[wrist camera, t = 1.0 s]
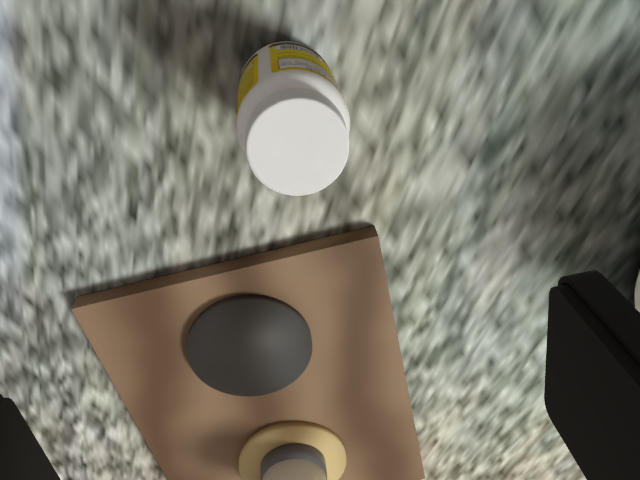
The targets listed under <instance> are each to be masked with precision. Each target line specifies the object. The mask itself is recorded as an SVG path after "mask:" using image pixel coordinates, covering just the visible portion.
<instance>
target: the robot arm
mask: <svg viewBox="0 0 640 480" xmlns="http://www.w3.org/2000/svg"><path fill="white" fill-rule="evenodd" d="M544 399H545V406H546V409H547V412H548V415H549V417H550V419H551V421H552V423H553V424H554V426H555V428H556V429H557V431H558V432H559V434H560V436H561V437H562V439H563V441H564V442H565V444H566V446H567V447H568V449H569V451H570V452H571V454H572V456H573V457H574V459H575V461H576V462H577V464H578V466H579V467H580V469H581V471H582V472H583V474H584V475H585V477H586V479H587V480H640V312H639V311H638V310H637V309H636V308H635V307H634V306H633V305H632V304H631V303H630V302H629V301H628V300H627V299H626V298H625V297H624V296H623V295H622V294H621V293H620V292H619V291H618V290H617V289H616V288H615V287H614V286H613V285H612V284H611V283H610V282H609V281H608V280H607V279H606V278H605V277H604V276H603V275H602V274H601V273H599V272H598V271H594V270H593V271H588V272H583V273H578V274H573V275H568V276H563V277H561V278H560V280H559V282H558V286H556V287H553V288H551V290H550V293H549V311H548V332H547V353H546V373H545V394H544ZM0 480H60V478H59V476H58V475H57V473H56V471H55V470H54V468H53V466H52V465H51V463H50V461H49V460H48V458H47V456H46V455H45V453H44V451H43V450H42V448H41V446H40V445H39V443H38V441H37V440H36V438H35V436H34V435H33V433H32V431H31V430H30V428H29V426H28V425H27V423H26V421H25V420H24V418H23V416H22V415H21V413H20V411H19V410H18V408H17V406H16V405H15V403H14V402H13V401H12V400H11V399H10V398H3V397H2V395H1V394H0Z"/></svg>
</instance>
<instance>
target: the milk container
mask: <svg viewBox="0 0 640 480" xmlns="http://www.w3.org/2000/svg"><path fill="white" fill-rule="evenodd" d="M634 299H635V308H636V309H637V310H638V311H639V312H640V267H639V270H638V274H637V277H636V281H635V286H634Z"/></svg>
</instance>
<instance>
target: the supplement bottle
mask: <svg viewBox="0 0 640 480" xmlns="http://www.w3.org/2000/svg"><path fill="white" fill-rule="evenodd" d="M236 131H237V137H238V141H239V144H240V147H241V149H242V151H243V153H244V154H245V156H246V158H247V160H248V163H249V165H250V168H251V170H252V171H253V173H254V174H255V176H256V177H257V178H258V179H259V180H260V181H261V182H262V183H263V184H264V185H265V186H267V187H268V188H270V189H272V190H274V191H276V192H279V193H282V194H285V195H292V196H301V195H308V194H312V193H315V192H318V191H320V190H322V189H324V188H325V187H327V186H328V185H330V184H331V183H332V182H333V181H334V180H335V179H336V178H337V177H338V176H339V175H340V173H341V172H342V170H343V168H344V166H345V164H346V161H347V158H348V154H349V132H350V117H349V111H348V107H347V104H346V102H345V100H344V98H343V96H342V93H341V91H340V90H339V87H338V85H337V83H336V81H335V79H334V77H333V75H332V73H331V71H330V69H329V67H328V65H327V64H326V62H325V61H324V60H323V58H322V57H321V56H320V55H319V54H318V53H317V52H315V51H314V50H313V49H311V48H310V47H308V46H306V45H303V44H300V43H297V42H291V41H282V42H276V43H272V44H269V45H267V46H265V47H263V48H261V49H260V50H258V51H257V52H256V53H255V54H254V55H253V56H252V57H251V58H250V59H249V60H248V61H247V63H246V64H245V66H244V68H243V70H242V72H241V75H240V79H239V87H238V102H237V118H236Z"/></svg>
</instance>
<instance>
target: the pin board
mask: <svg viewBox="0 0 640 480" xmlns="http://www.w3.org/2000/svg"><path fill="white" fill-rule="evenodd" d="M72 311H73V313H74V315H75V317H76V318H77V320H78V322H79V324H80V325H81V327H82V329H83V331H84V333H85V334H86V336H87V338H88V340H89V341H90V343H91V345H92V347H93V349H94V350H95V352H96V354H97V356H98V357H99V359H100V361H101V363H102V365H103V366H104V368H105V370H106V372H107V373H108V375H109V377H110V379H111V381H112V382H113V384H114V386H115V388H116V389H117V391H118V393H119V395H120V397H121V398H122V400H123V402H124V404H125V405H126V407H127V409H128V411H129V413H130V414H131V416H132V418H133V420H134V421H135V423H136V425H137V427H138V429H139V430H140V432H141V434H142V436H143V438H144V439H145V441H146V443H147V445H148V446H149V448H150V450H151V452H152V454H153V455H154V457H155V459H156V461H157V462H158V464H159V466H160V468H161V470H162V471H163V473H164V475H165V477H166V478H167V480H260V465H261V461H262V459H263V457H264V456H265V455H266V454H267V453H268V452H269V451H271V450H272V449H274V448H276V447H278V446H281V445H284V444H289V443H303V444H308V445H311V446H313V447H315V448H317V449H318V450H319V451H320V452H321V453H322V454H323V455H324V458H325V462H326V470H327V480H420V479H424V478H425V476H424V471H423V465H422V460H421V455H420V450H419V445H418V440H417V434H416V429H415V424H414V419H413V414H412V409H411V404H410V398H409V393H408V388H407V383H406V378H405V373H404V367H403V362H402V357H401V352H400V347H399V342H398V336H397V331H396V326H395V321H394V316H393V311H392V305H391V300H390V295H389V290H388V285H387V280H386V275H385V269H384V264H383V259H382V254H381V249H380V244H379V238H378V234H377V232H376V229H375V226H371V227H366V228H362V229H358V230H354V231H350V232H346V233H341V234H337V235H333V236H329V237H325V238H320V239H316V240H312V241H308V242H304V243H300V244H295V245H291V246H287V247H283V248H279V249H275V250H270V251H266V252H262V253H258V254H254V255H249V256H245V257H241V258H237V259H233V260H229V261H224V262H220V263H216V264H212V265H208V266H204V267H199V268H195V269H191V270H187V271H183V272H178V273H174V274H170V275H166V276H162V277H158V278H153V279H149V280H145V281H141V282H137V283H132V284H128V285H124V286H120V287H116V288H112V289H107V290H103V291H99V292H95V293H91V294H87V295H82V296H78V297H77V298H76V300H75V302H74V304H73V306H72Z"/></svg>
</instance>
